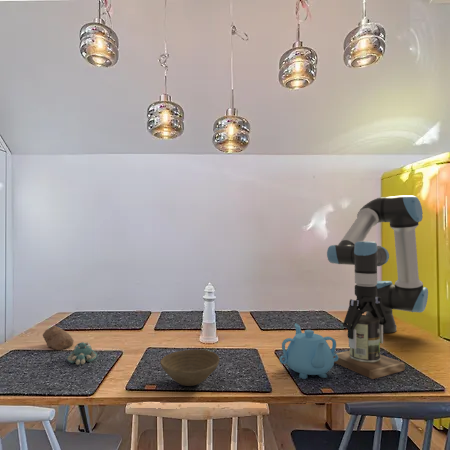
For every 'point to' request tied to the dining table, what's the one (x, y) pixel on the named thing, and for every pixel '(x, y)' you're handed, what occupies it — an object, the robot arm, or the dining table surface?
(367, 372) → the walnut board
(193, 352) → the bowl
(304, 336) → the teapot
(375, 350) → the coffee can
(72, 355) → the stuffed animal
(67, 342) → the stone
